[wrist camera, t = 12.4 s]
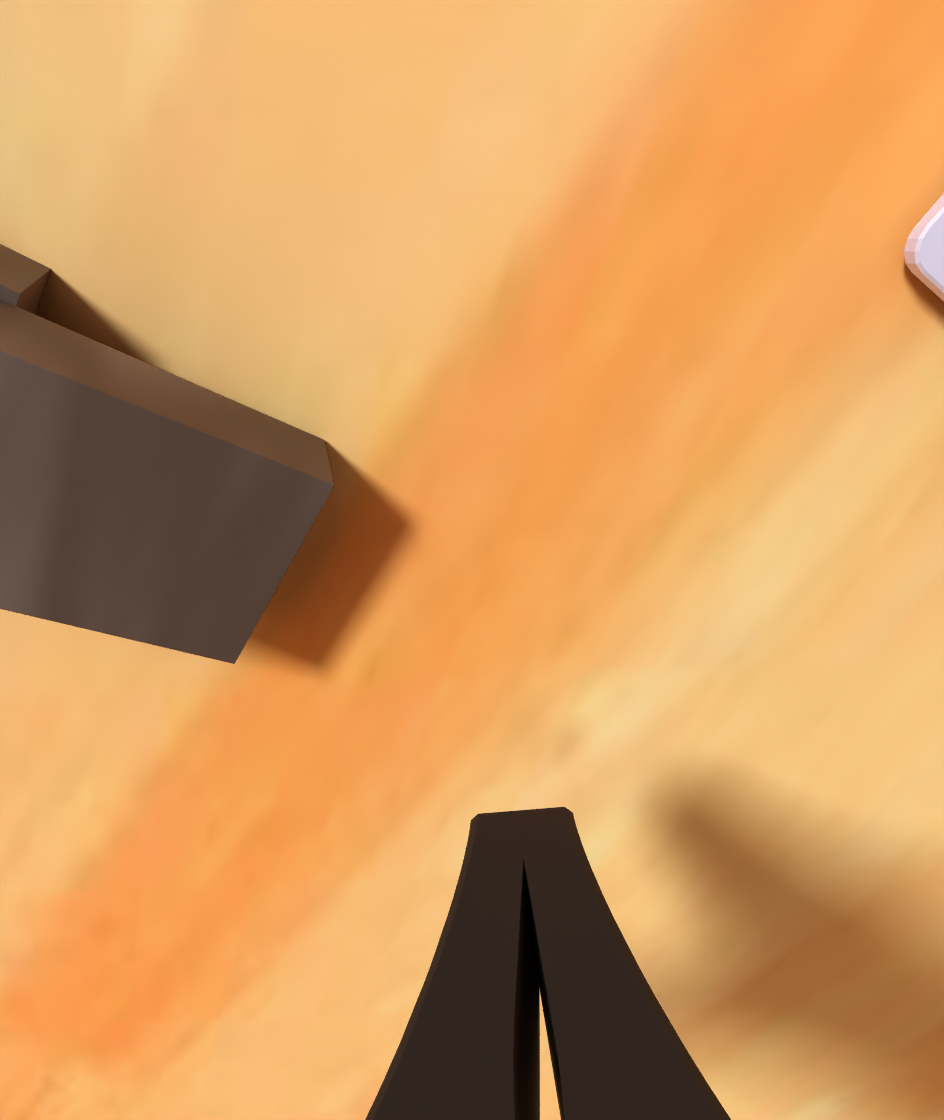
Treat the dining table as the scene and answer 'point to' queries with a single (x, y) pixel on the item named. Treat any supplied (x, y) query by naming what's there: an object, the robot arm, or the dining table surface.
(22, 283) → the domino
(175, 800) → the dining table surface
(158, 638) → the domino
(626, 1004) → the robot arm
